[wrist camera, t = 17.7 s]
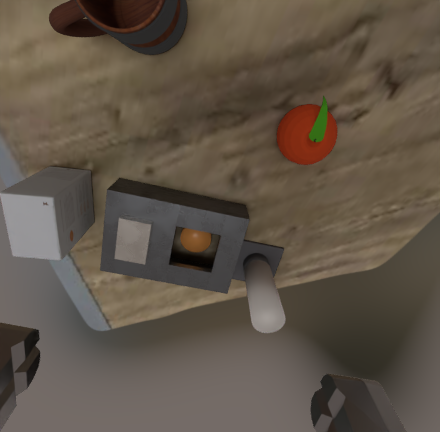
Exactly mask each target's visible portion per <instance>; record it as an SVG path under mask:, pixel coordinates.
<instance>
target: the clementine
mask: <svg viewBox="0 0 440 432" xmlns="http://www.w3.org/2000/svg"><path fill="white" fill-rule="evenodd" d="M336 139H337V125H336V121H335V119H334V118H333V116H332V115H331V114H330V113H329V112H328V111H327V102H326V99H325V97H324V96H323V103H322V107H320V106H318V105H312V104H307V105H301V106H298V107H296V108H294V109H292V110H291V111H289V112H288V113H287V114H286V115H285V116H284V117H283V119H282V120H281V122H280V124H279V126H278V131H277V143H278V146H279V149H280V151H281V152H282V154H283V155H284V156H285V157H286V158H287V159H288V160H290V161H292V162H295V163H297V164H303V165H308V164H313V163H316V162H318V161H320V160H322V159H323V158H325V157H326V156H327V155H328V154H329V153H330V152H331V151H332V149H333V147H334V145H335V143H336Z"/></svg>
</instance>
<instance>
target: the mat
mask: <svg viewBox="0 0 440 432" xmlns="http://www.w3.org/2000/svg"><path fill="white" fill-rule="evenodd" d="M283 251H284V248H282V247H277V246H272V245H267V244H262V243H257V242H252V241H247V240H243V243H242V246H241V250H240V253H239V256H238V260H237V263H236V266H235V270H234V273H233V276H232V279H236V280H241V281H245V276H244V269H243V261H244V259H245V258H246V257H247V256H248V255H250V254H253V253H260V254H263V255H264V256H266V258H267V259H268V262H269V265H270V268H271V272H272V275H273V278H274V276H275V273H276V270H277V267H278V265H279V262H280V259H281V257H282V254H283Z"/></svg>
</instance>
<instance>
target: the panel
mask: <svg viewBox="0 0 440 432" xmlns="http://www.w3.org/2000/svg"><path fill="white" fill-rule="evenodd" d="M249 220H250V219H249V215H248V211H247V207H246V205H243V204H238V203H233V202H229V201H224V200H219V199H215V198H210V197H206V196H201V195H196V194H192V193H187V192H182V191H178V190H173V189H169V188H164V187H159V186H155V185H150V184H145V183H141V182H136V181H132V180H127V179H122V178H119V179H118V180H117V181H116V182H115V183H114V184H112V185H111V186H110V187H109V188H108V189H107V197H106V209H105V220H104V232H103V244H102V255H101V267H100V270H101V271H106V272H112V273H117V274H123V275H128V276H133V277H139V278H144V279H150V280H155V281H161V282H166V283H172V284H177V285H183V286H188V287H194V288H199V289H204V290H210V291H215V292H221V293H226V294H227V293H228V289H229V286H230V283H231V279H232V276H233V273H234V270H235V266H236V263H237V260H238V256H239V253H240V250H241V246H242V243H243V240H244V236H245V233H246V230H247V227H248V223H249ZM176 226H178V227H183V228H188V229H193V230H197V231H202V232H207V233H212V234H217V235H220V239H219V243H218V247H217V251H216V254H215V258H214V262H213V265H208V264H203V263H198V262H192V261H187V260H182V259H177V258H172V257H170V256H171V251H172V246H173V240H174V235H175V230H176Z"/></svg>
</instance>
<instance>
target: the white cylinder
mask: <svg viewBox="0 0 440 432" xmlns="http://www.w3.org/2000/svg"><path fill="white" fill-rule="evenodd" d="M243 269H244V276H245V282H246V288H247V295H248V301H249V307H250V314H251V320H252V325H253V327H254V328H255V329H256V330H258V331H260V332H263V333H272V332H275V331H277V330H279V329H280V328H281V327H282V326H283V325H284V323H285V314H284V311H283V307H282V304H281V301H280V298H279V294H278V291H277V288H276V285H275V281H274V278H273V275H272V272H271V268H270V265H269V262H268V259H267V258H266V256H264V255H263V254H260V253H253V254H250V255H248V256H247V257H246V258H245V259H244V261H243Z"/></svg>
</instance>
